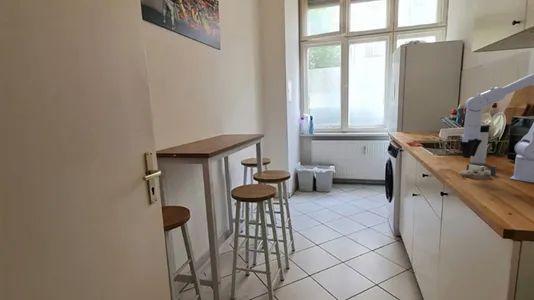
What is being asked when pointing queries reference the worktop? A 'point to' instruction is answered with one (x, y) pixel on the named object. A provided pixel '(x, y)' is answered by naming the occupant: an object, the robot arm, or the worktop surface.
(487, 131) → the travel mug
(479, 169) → the hinged leg
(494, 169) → the block
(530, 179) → the robot arm
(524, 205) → the worktop surface
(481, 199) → the worktop surface
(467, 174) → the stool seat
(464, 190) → the worktop surface
